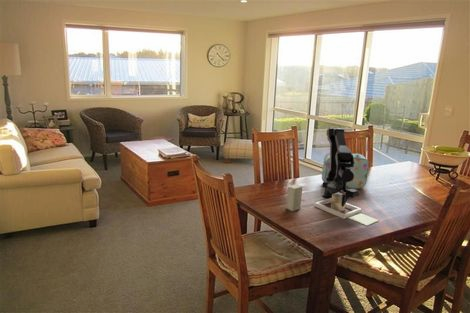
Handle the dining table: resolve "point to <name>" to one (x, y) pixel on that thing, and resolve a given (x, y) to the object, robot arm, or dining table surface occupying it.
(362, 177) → the lunch box
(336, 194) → the birch parts box
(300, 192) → the skincare box
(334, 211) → the white rectangular frame
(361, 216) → the sage pad
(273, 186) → the dining table surface
